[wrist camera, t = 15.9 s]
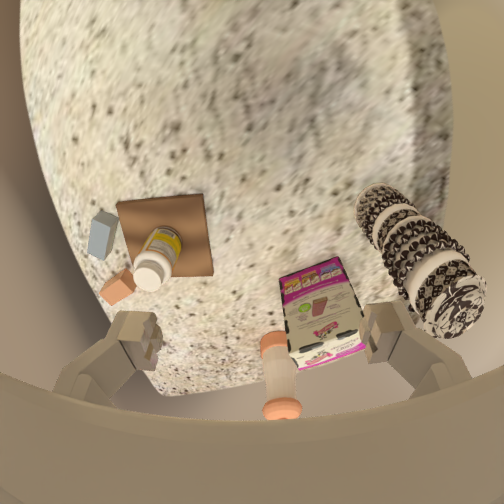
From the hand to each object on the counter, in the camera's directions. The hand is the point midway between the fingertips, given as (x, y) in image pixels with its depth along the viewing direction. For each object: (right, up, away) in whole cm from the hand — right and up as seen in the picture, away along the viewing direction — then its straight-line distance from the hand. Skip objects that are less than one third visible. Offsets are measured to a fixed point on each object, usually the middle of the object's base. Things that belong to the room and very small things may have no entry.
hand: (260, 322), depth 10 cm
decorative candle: (+20, +10, +31) cm, 38 cm away
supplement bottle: (-14, +5, +33) cm, 36 cm away
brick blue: (-25, +6, +33) cm, 42 cm away
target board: (-14, +5, +34) cm, 37 cm away
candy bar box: (+10, -2, +38) cm, 39 cm away
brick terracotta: (-25, -3, +39) cm, 47 cm away
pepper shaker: (+5, -16, +47) cm, 50 cm away
